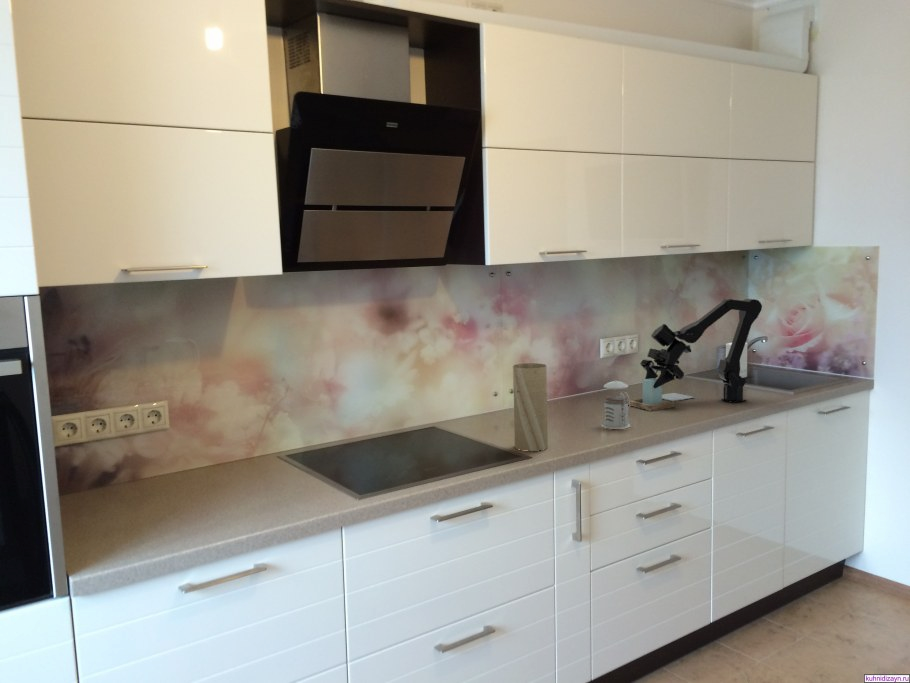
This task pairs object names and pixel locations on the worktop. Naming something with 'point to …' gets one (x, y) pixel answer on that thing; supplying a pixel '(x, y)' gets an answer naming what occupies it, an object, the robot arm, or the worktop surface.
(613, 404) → the french press
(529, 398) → the tube
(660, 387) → the grey-teal block
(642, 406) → the walnut holder
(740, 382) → the robot arm
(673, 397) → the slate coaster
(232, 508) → the worktop surface
